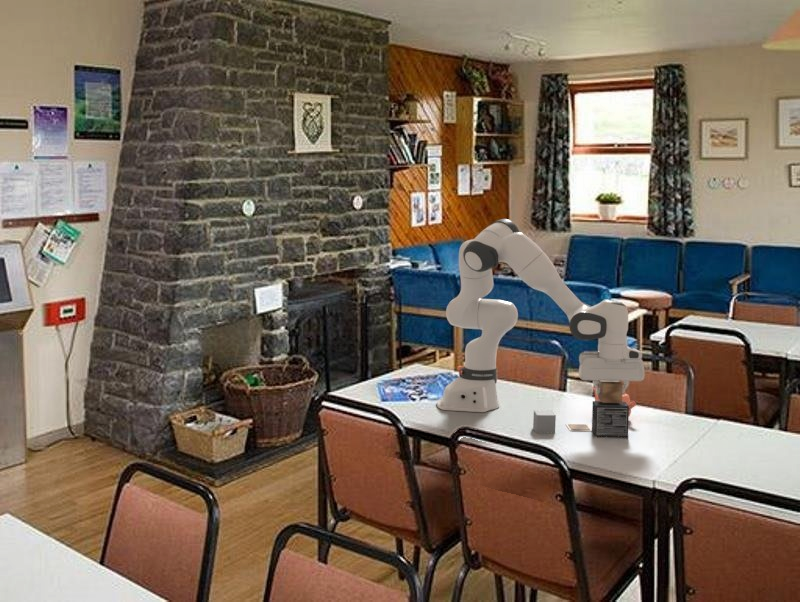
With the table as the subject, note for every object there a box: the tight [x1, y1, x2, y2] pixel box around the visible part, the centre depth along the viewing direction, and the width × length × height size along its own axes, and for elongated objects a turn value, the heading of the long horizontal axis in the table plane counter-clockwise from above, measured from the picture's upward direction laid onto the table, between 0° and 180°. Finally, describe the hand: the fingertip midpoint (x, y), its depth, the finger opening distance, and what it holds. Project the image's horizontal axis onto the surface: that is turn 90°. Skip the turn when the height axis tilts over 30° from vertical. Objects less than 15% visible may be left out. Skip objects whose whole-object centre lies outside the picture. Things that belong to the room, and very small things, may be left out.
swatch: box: [565, 423, 592, 432], centre depth 264 cm, size 7×7×1 cm
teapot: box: [591, 386, 637, 417], centre depth 275 cm, size 14×12×10 cm
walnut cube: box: [598, 381, 624, 403], centre depth 255 cm, size 6×6×6 cm
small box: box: [591, 400, 630, 439], centre depth 256 cm, size 11×6×10 cm, turn 87°
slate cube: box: [532, 409, 557, 434], centre depth 260 cm, size 6×6×6 cm
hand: (610, 394), depth 255 cm, fingers closed on walnut cube, 6 cm apart
